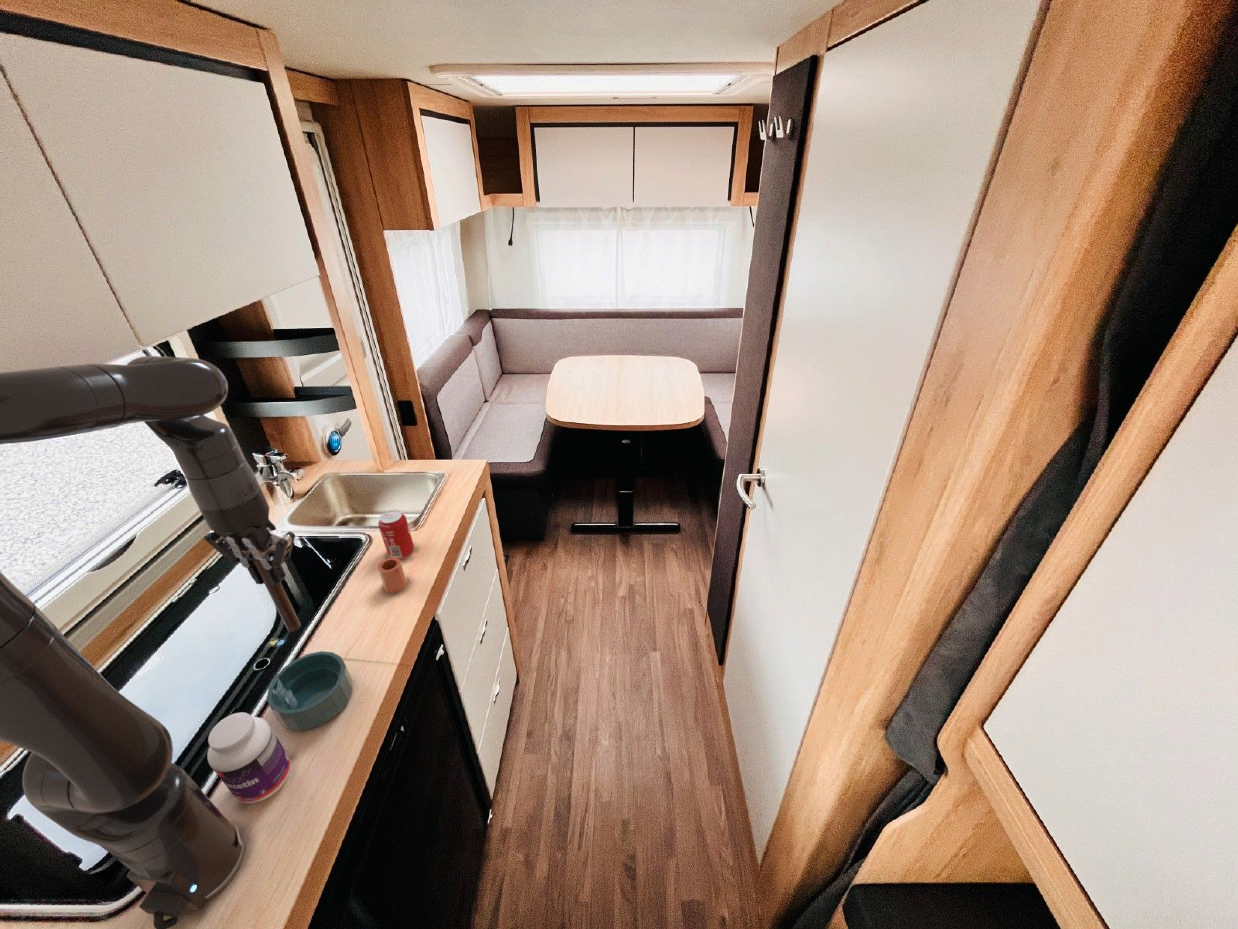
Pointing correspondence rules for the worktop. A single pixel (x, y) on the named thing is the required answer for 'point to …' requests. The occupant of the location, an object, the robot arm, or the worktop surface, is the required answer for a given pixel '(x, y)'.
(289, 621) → the cooking stick
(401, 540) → the beverage can
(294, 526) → the worktop surface
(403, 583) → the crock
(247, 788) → the pill bottle
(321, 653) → the bowl
